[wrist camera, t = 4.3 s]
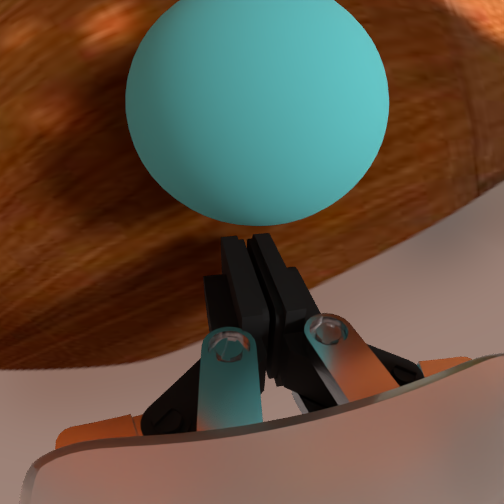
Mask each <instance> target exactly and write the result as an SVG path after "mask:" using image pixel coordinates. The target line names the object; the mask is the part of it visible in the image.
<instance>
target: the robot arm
mask: <svg viewBox="0 0 504 504" xmlns="http://www.w3.org/2000/svg"><path fill="white" fill-rule="evenodd" d="M221 260H222V274H221V275H211V276H203V280H204V291H205V301H206V310H207V318H208V324H209V331H210V333H209V334H208V335H207V336H206V337H205V339H204V340H203V343H202V350H201V358H200V359H199V361H197V362H196V363H195V364H194V365H193V366H192V367H191V368H190V369H189V370H188V371H187V372H186V373H185V374H184V375H183V376H182V377H181V378H179V380H177V381H176V382H175V383H174V384H173V385H172V386H171V387H170V388H169V389H168V390H167V391H166V392H165V393H164V394H162V395H161V396H160V397H159V398H158V399H157V400H156V401H155V402H154V403H153V404H152V405H151V406H149V408H147V410H146V411H145V412H144V414H143V415H139V416H135V417H132V416H131V414H129V415H125V416H121V417H117V418H112V419H108V420H103V421H98V422H94V423H89V424H84V425H79V426H74V427H70V428H67V429H65V430H64V431H63V432H61V433H60V434H59V436H58V438H57V440H56V447H55V450H53V451H51V452H49V453H47V454H45V455H43V456H42V457H40V458H39V459H37V460H36V461H35V462H34V463H33V464H32V465H31V467H30V468H29V470H28V471H27V473H26V476H25V479H24V481H23V485H22V489H21V494H20V501H19V504H504V353H499V354H492V355H486V356H482V357H479V358H475V359H470V358H468V357H454V358H447V359H438V360H429V361H419V362H418V364H417V365H416V364H415V363H413V362H411V361H409V360H407V359H404V358H401V357H399V356H396V355H394V354H391V353H389V352H386V351H384V350H381V349H378V348H376V347H373V346H371V345H368V344H366V343H365V342H364V341H363V339H362V338H361V337H360V336H359V334H358V333H357V332H356V331H355V329H354V328H353V327H352V326H351V325H350V323H349V322H348V321H346V320H345V319H344V318H342V317H340V316H337V315H334V314H327V313H322V314H321V313H320V311H319V309H318V308H317V306H316V304H315V302H314V300H313V298H312V296H311V294H310V292H309V290H308V289H307V287H306V285H305V283H304V281H303V279H302V277H301V275H300V274H299V272H298V270H297V269H296V267H288V268H286V266H285V264H284V262H283V260H282V258H281V256H280V254H279V252H278V250H277V248H276V246H275V244H274V242H273V240H272V238H271V236H270V234H269V233H264V234H253V237H252V239H248V240H247V248H246V245H245V242H244V240H243V239H242V240H238V237H237V236H229V237H221ZM266 372H267V375H268V377H269V378H270V379H271V378H274V379H275V383H276V386H284V387H285V388H287V389H290V390H292V395H293V398H294V400H295V402H296V404H297V406H298V408H299V409H300V411H301V413H302V415H297V416H292V417H288V418H283V419H278V420H272V421H268V422H263V419H262V407H261V396H260V395H261V393H262V392H263V391H264V385H265V373H266Z"/></svg>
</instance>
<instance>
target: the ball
mask: <svg viewBox="0 0 504 504" xmlns="http://www.w3.org/2000/svg"><path fill="white" fill-rule="evenodd" d="M388 111H389V95H388V85H387V79H386V74H385V70H384V67H383V64H382V61H381V58H380V56H379V53H378V51H377V49H376V47H375V45H374V43H373V42H372V40H371V38H370V37H369V35H368V34H367V32H366V31H365V30H364V28H363V27H362V26H361V25H360V24H359V22H358V21H357V20H356V19H355V18H354V17H353V16H352V15H351V14H350V13H349V12H348V11H347V10H345V9H344V8H343V7H342V6H341V5H339V4H338V3H337V2H336V1H334V0H180V1H178V2H177V3H175V4H174V5H173V6H172V7H171V8H169V9H168V10H167V11H166V12H165V13H164V14H162V15H161V17H160V18H159V19H158V20H157V21H156V22H155V23H154V24H153V26H152V27H151V28H150V29H149V31H148V32H147V34H146V35H145V37H144V38H143V40H142V41H141V43H140V45H139V47H138V49H137V51H136V54H135V56H134V58H133V60H132V64H131V67H130V71H129V74H128V79H127V86H126V116H127V122H128V127H129V131H130V134H131V137H132V141H133V144H134V147H135V149H136V151H137V153H138V155H139V157H140V159H141V161H142V163H143V164H144V166H145V167H146V169H147V170H148V171H149V173H150V174H151V176H152V177H153V178H154V179H155V180H156V181H157V182H158V184H159V185H160V186H161V187H162V188H163V189H164V190H166V191H167V192H168V193H169V194H170V195H171V196H173V197H174V198H175V199H177V200H178V201H180V202H181V203H183V204H184V205H186V206H187V207H189V208H190V209H192V210H194V211H196V212H198V213H200V214H203V215H205V216H207V217H210V218H213V219H216V220H219V221H223V222H228V223H233V224H239V225H251V226H269V225H277V224H284V223H289V222H292V221H296V220H300V219H303V218H305V217H308V216H310V215H313V214H315V213H317V212H319V211H321V210H323V209H324V208H326V207H328V206H330V205H331V204H333V203H334V202H336V201H337V200H339V199H340V198H341V197H343V196H344V195H345V194H346V193H347V192H348V191H350V190H351V189H352V188H353V187H354V186H355V185H356V184H357V182H358V181H359V180H360V179H361V178H362V177H363V175H364V174H365V173H366V171H367V170H368V169H369V167H370V166H371V164H372V162H373V160H374V159H375V157H376V155H377V153H378V151H379V148H380V146H381V143H382V141H383V137H384V134H385V130H386V126H387V120H388Z"/></svg>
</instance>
